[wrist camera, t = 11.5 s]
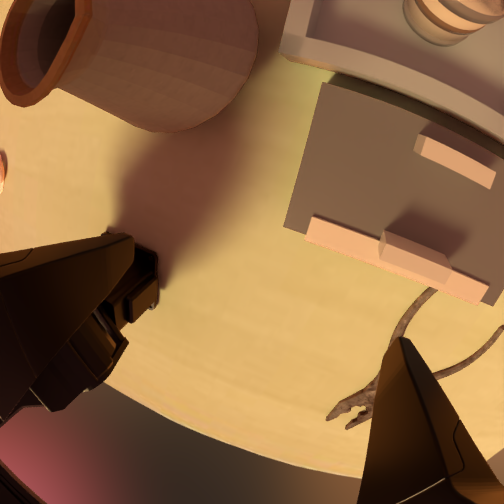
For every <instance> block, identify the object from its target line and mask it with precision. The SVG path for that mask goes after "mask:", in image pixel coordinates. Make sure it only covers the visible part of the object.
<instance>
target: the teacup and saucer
mask: <svg viewBox="0 0 504 504" xmlns="http://www.w3.org/2000/svg"><path fill="white" fill-rule="evenodd" d="M3 187H4V166H3V162H2V157H1V154H0V194H1V192H2V190H3Z"/></svg>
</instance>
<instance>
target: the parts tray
mask: <svg viewBox="0 0 504 504" xmlns="http://www.w3.org/2000/svg"><path fill="white" fill-rule="evenodd" d="M402 4H403V0H291V2H290V6H289V10H288V14H287V18H286V22H285V26H284V30H283V34H282V38H281V42H280V46H279V50H278V53H280V54H281V55H282V56H284V57H285V58H286V59H288V60H289V61H292V62H297V63H301V64H306V65H310V66H314V67H318V68H322V69H326V70H329V71H333V72H337V73H340V74H344V75H347V76H350V77H353V78H357V79H360V80H363V81H366V82H369V83H372V84H375V85H378V86H380V87H383V88H386V89H389V90H391V91H394V92H397V93H399V94H402V95H404V96H407V97H409V98H412V99H414V100H416V101H419V102H421V103H423V104H426V105H428V106H430V107H432V108H435V109H437V110H439V111H441V112H443V113H445V114H447V115H449V116H451V117H453V118H455V119H457V120H459V121H461V122H463V123H465V124H467V125H469V126H471V127H472V128H474V129H476V130H478V131H480V132H481V133H483V134H485V135H487V136H488V137H490V138H492V139H494V140H495V141H497V142H498V143H500V144H502V145H503V146H504V17H503V18H502V19H500V20H498V21H496V22H494V23H491V24H486V25H485V26H484V27H483V28H481V29H480V30H478V31H476V32H475V33H473V34H470V35H469V36H468V37H467V38H466V39H465V40H463V41H461V42H460V43H458V44H456V45H454V46H450V47H441V46H436V45H433V44H431V43H429V42H427V41H425V40H423V39H422V38H420V37H419V36H418V35H417V34H416V33H415V32H414V31H413V30H412V29H411V28H410V27H409V25H408V24H407V22H406V20H405V18H404V15H403V10H402Z"/></svg>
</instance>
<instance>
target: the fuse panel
mask: <svg viewBox="0 0 504 504" xmlns="http://www.w3.org/2000/svg"><path fill="white" fill-rule="evenodd" d="M283 227H285V228H288V229H291V230H294V231H297V232H300V233H303V234H306V237H305V241H308V242H311V243H313V244H316V245H319V246H322V247H325V248H327V249H330V250H333V251H336V252H339V253H341V254H344V255H347V256H350V257H352V258H355V259H358V260H360V261H363V262H366V263H369V264H371V265H374V266H377V267H379V268H382V269H385V270H387V271H390V272H393V273H395V274H398V275H401V276H403V277H406V278H408V279H411V280H414V281H416V282H419V283H421V284H424V285H427V286H429V287H432V288H434V289H437V290H439V291H442V292H445V293H447V294H450V295H452V296H455V297H457V298H460V299H462V300H465V301H467V302H470V303H472V304H475V305H478V304H479V302H480V301H481V302H483V303H486V304H488V305H491V306H494V304H495V302H496V301H497V299H498V298H499V296H500V294H501V293H502V291H503V289H504V159H502V158H500V157H499V156H497V155H495V154H494V153H492V152H490V151H489V150H487V149H485V148H483V147H482V146H480V145H478V144H476V143H474V142H473V141H471V140H469V139H467V138H465V137H463V136H461V135H459V134H457V133H455V132H453V131H451V130H449V129H447V128H445V127H443V126H441V125H439V124H437V123H435V122H432V121H430V120H428V119H426V118H424V117H421V116H419V115H417V114H414V113H412V112H409V111H407V110H405V109H402V108H400V107H397V106H394V105H392V104H389V103H387V102H384V101H381V100H378V99H376V98H373V97H370V96H367V95H364V94H361V93H358V92H355V91H352V90H349V89H345V88H342V87H339V86H335V85H332V84H328V83H325V82H322V85H321V89H320V93H319V97H318V101H317V105H316V109H315V112H314V116H313V120H312V124H311V128H310V131H309V135H308V139H307V143H306V146H305V150H304V154H303V157H302V161H301V165H300V168H299V172H298V176H297V179H296V183H295V186H294V190H293V194H292V197H291V201H290V204H289V208H288V211H287V215H286V218H285V222H284V225H283Z"/></svg>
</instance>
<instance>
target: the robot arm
mask: <svg viewBox="0 0 504 504" xmlns="http://www.w3.org/2000/svg"><path fill="white" fill-rule="evenodd" d="M151 256H152V257H151ZM157 266H158V256H157V254H156V253H155V252H153V251H151V250H149V249H146V248H144V247H141V246H139V245H137V244H134V238H133V236H131V235H128V234H126V233H117V234H111V233H108V232H104V233H102V234H101V236H99V237H92V238H86V239H81V240H75V241H69V242H63V243H58V244H52V245H47V246H41V247H36V248H34V249H33V248H30V249H25V250H19V251H14V252H7V253H1V254H0V427H1V426H3V425H4V424H5V423H6V422H7V421H8V420H9V419H10V418H12V417H13V416H14V415H15V414H16V413H18V412H19V411H20V410H21V409H23V408H24V407H42V406H45V407H46V408H47V409H48V410H49V411H50V412H55V411H59V410H63V409H65V408H66V407H67V405H68V404H70V403H71V402H72V401H73V400H74V399H75V398H76V397H77V396H78V395H79V394H80V393H81V392H86V391H90V390H92V389H94V388H95V387H97V386H98V385H100V384H101V383H102V382H103V381H105V380H106V379H107V377H108V376H109V375H110V374H111V372H112V371H113V369H114V367H115V366H116V364H117V362H118V360H119V359H120V357H121V355H122V354H123V352H124V350H125V349H126V347H127V345H128V344H129V342H128V340H127V339H126V337H124V336H123V335H122V334H121V332H120V330H121V329H122V328H123V327H124V326H125V325H126V324H127V323H128V322H129V323H131V324H132V323H134V322H135V321H136V320H137V319H138V318H139V317H140V316H141V315H142V314H143V313H144V312H145V311H146V310H147V309H149V310H153V309H154V308H155V307H156V300H157V290H158V277H157ZM0 504H47V503H46V502H45V501H43V500H42V499H41V498H40V497H39V496H37V495H36V494H35V493H34V492H33V491H32V490H31V489H30V488H29V487H28V486H26V485H25V484H24V483H23V482H22V481H21V480H20V479H19V478H18V477H17V476H16V475H15V474H14V473H13V472H12V471H11V470H10V469H9V468H8V467H7V466H6V465H5V464H4V463H3V462H2V461H1V460H0ZM357 504H504V486H503V485H502V484H501V483H500V482H499V480H498V479H497V478H496V476H495V474H494V473H493V471H492V469H491V468H490V466H489V465H488V463H487V462H486V460H485V459H484V457H483V455H482V454H481V452H480V451H479V449H478V448H477V446H476V445H475V443H474V441H473V440H472V438H471V436H470V435H469V433H468V431H467V430H466V428H465V426H464V424H463V423H462V421H461V420H459V416H458V414H457V413H456V411H455V409H454V407H453V406H452V404H451V402H450V401H449V399H448V398H447V396H446V394H445V393H444V391H443V389H442V388H441V386H440V385H439V383H438V381H437V380H436V378H435V377H434V375H433V374H432V372H431V370H430V369H429V367H428V366H427V364H426V363H425V361H424V360H423V358H422V357H421V355H420V354H419V352H418V351H417V349H416V348H415V346H414V345H413V343H412V342H411V340H410V339H408V338H405V337H402V336H397V337H396V338H395V339H394V341H393V342H392V344H391V345H390V347H389V348H388V350H387V351H386V353H385V354H384V357H383V360H382V365H381V370H380V375H379V380H378V385H377V389H376V394H375V399H374V405H373V414H372V422H371V429H370V436H369V443H368V449H367V455H366V461H365V466H364V471H363V477H362V481H361V486H360V491H359V495H358V500H357Z"/></svg>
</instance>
